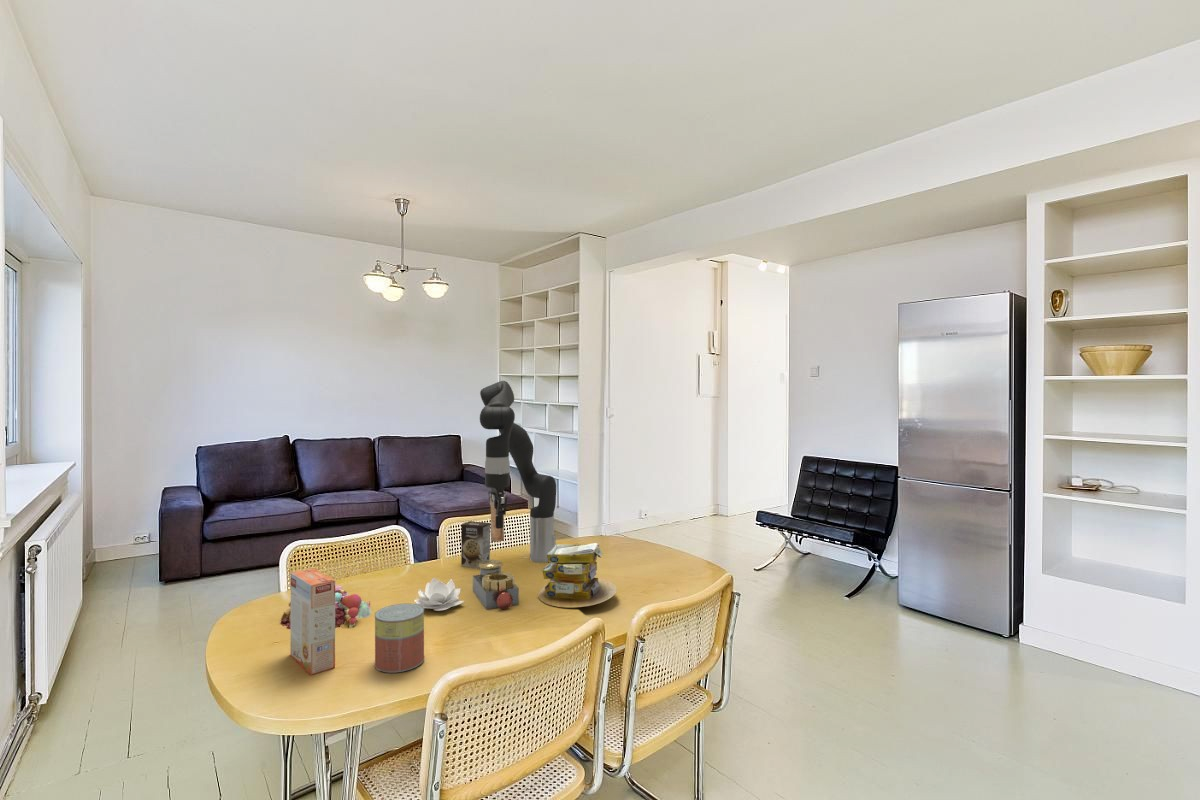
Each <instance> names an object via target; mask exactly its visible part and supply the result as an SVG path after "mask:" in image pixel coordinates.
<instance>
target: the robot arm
mask: <svg viewBox="0 0 1200 800" xmlns="http://www.w3.org/2000/svg"><path fill="white" fill-rule="evenodd" d="M479 394H480V398H481V401H482V403H483V405H484V406H483V408H482V409H481V410H480V414H479V422H480V425H481V427H482V428H483V429H485V430H498V431H499V433H500V435H497V436H496V435H495V436H492V437H488V438H487V439H486V441H485V461H484V485H485V487H486V488H487V489H490V490H488V492H487V493H488V505H489V511H491V501H493V508H494V509H495V515H496V528H497V529H499V528H503V516H504V517H505V516H506V514H507V505H508V504H507V503H508V497H507V496H506V493H505V490H504V489H505V488H508V487H510V485H511V483H510V482H511V481H510V480H511V479H510V478H511V473H510V472H511V471H510V470H511V469H510V467H511V465H510V464H511V463H510V457H511V459H512V460H513V463H514V465H515V466H516V468H517V469H516V470H517V471H518V473H519V475H520V478H521V480H522V483H523V487H524V489H525V491H526V493H527V494H528V496H530V497H531V498H533V499H534V498H535V499H538V505H537V506H533V507H531V508H530V511H529V543H530V544H529V549H530V550H529V555H530V556H529V559H530V561H531V560H532V562H534V563H542V562H543V563H548V558H547V554H548V552H549V551H550V550H551V549H552V548H553V547H554V546H555V545H557V544H556V540H557V539H556V538H557V537H556V535H555V534H554V533H555V531H554V530H555V529H554V528H555V523H554V522H555V521H554V519H555V517H554V515H555V509H556V503H557V483H556V480H555V478H554V476H551V475H547V474H541V473H540V474H539V473H538V472H537V470H536V468H535V466H534V463H533V457H534V445H533V442H532V440H531V438H530V436H529V434H528V432H527V430H526V429H524V428H523V427H522V426H520V425H518V424H517V423H515V419H516V418H515V417H516V415H515V412H514V409H513V408H512V407H511V406H512V405H513V403H514V402H515V394H514V391H513V389H512V387H511V385H510V384H509V382H508V381H506V380H501V381H500V380H499V381H497V382H494V383H492V384H491V385H488V386H485V387H483V388H481V390H480V392H479ZM496 504H497V505H498V506H496ZM500 509H501V511H500Z"/></svg>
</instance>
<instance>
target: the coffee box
mask: <svg viewBox="0 0 1200 800" xmlns="http://www.w3.org/2000/svg"><path fill="white" fill-rule="evenodd" d="M460 526H461V533H460V534H461V536H460V537H461V539H460V540H461V544H460V546H461V549H460V551H461V553H460V554H461V555H460V558H461V560H460V562H461V563H460V564H461V567H463V568H470V569H471V568H472V569H478V570H479V569H480V567H479V563H480V562H483V561H488V560H491V522H485V521H484V522H483V521H472V520H471V521H466V522H464V523H461V525H460Z"/></svg>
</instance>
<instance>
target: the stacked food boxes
mask: <svg viewBox="0 0 1200 800" xmlns="http://www.w3.org/2000/svg"><path fill="white" fill-rule="evenodd" d="M601 549H602V548H601V547H600V545H599V543H598V542H593V543H586V544H585V543H584V544H581V543H580V544H579V543H575V544H556V545H555V546H554V547H553V548H552V549H551V550H550V551H549V552H548V554H547V558H548V562H547V563H548V564H547V565H546V566H545V567H544V568H542V575H543V579H544V580H549V581H548V583H547V584H546V585H544V586H543V587H542V588H540V589H539V591H538V593H537V598H538V599H539V600H540V601H541V602H542V603H544V604H546V605H549V606H552V607H558V608H582V607H590V606H594V605H597V604H598V605H599V604H601V603H605V602H606V601H608V600H609V599H611V598H612V597H614V596H615V594H616V593H617V586H616V585H615V584H614V583H613V582H611V581H610V580H607V579H605V578H600V577H596V575H597V570H598V564H597V561H598V558H602V556H603V551H602V550H601Z"/></svg>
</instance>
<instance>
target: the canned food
mask: <svg viewBox="0 0 1200 800" xmlns="http://www.w3.org/2000/svg"><path fill="white" fill-rule="evenodd" d="M424 624H425V608H423V607H422V606H421V605H418V604H417V603H409V602H408V603H397V604H391V605H388V606H384V607H382V608H380V609H377V611H376V612H374V646H375V647H374V667H375V669H376V670H377V671H379V672H383V673H389V674H390V673H402V672H406V671H407V672H408V671H410V670H413V669H415V668H417V667H419V666H421V665H422V664H423V662H425V625H424Z"/></svg>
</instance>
